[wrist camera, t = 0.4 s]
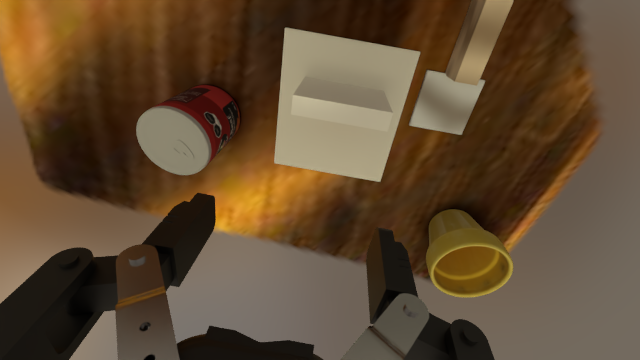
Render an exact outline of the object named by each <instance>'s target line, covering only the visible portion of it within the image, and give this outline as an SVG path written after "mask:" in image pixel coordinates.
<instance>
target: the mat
mask: <svg viewBox="0 0 640 360" xmlns="http://www.w3.org/2000/svg"><path fill="white" fill-rule="evenodd" d="M419 56H420V52H419V51H414V50H408V49H403V48H397V47H392V46H386V45H381V44H375V43H369V42H364V41H358V40H353V39H347V38H342V37H336V36H331V35H325V34H320V33H314V32H309V31H303V30H298V29H292V28H287V27H285V34H284V46H283V59H282V72H281V84H280V97H279V109H278V122H277V134H276V147H275V159H274V163H277V164H282V165H288V166H294V167H299V168H305V169H310V170H316V171H322V172H327V173H333V174H338V175H344V176H349V177H355V178H361V179H366V180H372V181H377V182H380V181H381V177H382V174H383V171H384V168H385V165H386V161H387V158H388V155H389V152H390V148H391V145H392V142H393V139H394V136H395V132H396V129H397V126H398V123H399V120H400V116H401V113H402V110H403V107H404V104H405V100H406V97H407V94H408V91H409V88H410V84H411V81H412V78H413V75H414V72H415V68H416V65H417V62H418V59H419ZM304 77H310V78H316V79H321V80H327V81H332V82H338V83H344V84H349V85H355V86H360V87H366V88H371V89H377V90H382V91H384V93H385V95H386V97H387V100H388V102H389V104H390V107H391V109H392V111H393V115H392V118H391V122H390V125H389V129H388V132H386V131H380V130H375V129H369V128H364V127H358V126H353V125H347V124H341V123H336V122H330V121H325V120H319V119H314V118H308V117H303V116H297V115H291V108H292V99H293V94H294V92H295V91H296V89H297V88H298V86H299V85H300V83H301V82H302V80H303V79H304Z"/></svg>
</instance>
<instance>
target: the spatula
mask: <svg viewBox="0 0 640 360" xmlns="http://www.w3.org/2000/svg"><path fill="white" fill-rule="evenodd" d="M513 1H514V0H472V1H471V3H470V6H469V9H468V12H467V14H466V17H465V20H464V23H463V25H462V28H461V31H460V33H459V36H458V39H457V42H456V44H455V47H454V50H453V53H452V55H451V58H450V61H449V63H448V66H447V69H446V72H445V73H442V72H437V71H431V70H427V71H426V74H425V77H424V80H423V83H422V86H421V89H420V92H419V95H418V98H417V101H416V104H415V107H414V110H413V113H412V116H411V119H410V122H409V126H415V127H420V128H426V129H431V130H437V131H442V132H448V133H453V134H459V135H462V132H463V130H464V128H465V126H466V123H467V121H468V119H469V117H470V114H471V112H472V110H473V108H474V105H475V103H476V101H477V99H478V96H479V94H480V92H481V90H482V87H483V85H484V83H485V80H481V79H480V78H481V75H482V73H483V71H484V68H485V66H486V64H487V61H488V59H489V57H490V54H491V52H492V50H493V47H494V45H495V43H496V41H497V38H498V36H499V34H500V31H501V29H502V27H503V24H504V22H505V20H506V17H507V15H508V13H509V10H510V8H511V6H512V3H513Z"/></svg>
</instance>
